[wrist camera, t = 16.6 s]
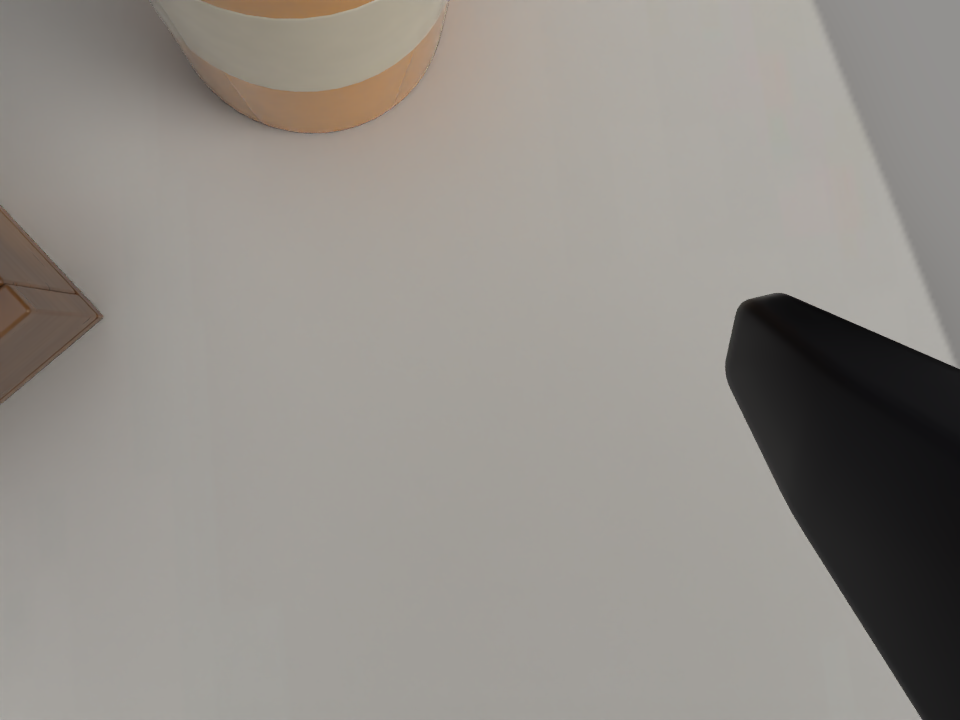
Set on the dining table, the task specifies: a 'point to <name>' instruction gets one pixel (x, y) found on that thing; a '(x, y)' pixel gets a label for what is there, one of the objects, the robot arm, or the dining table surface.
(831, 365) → the robot arm
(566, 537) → the dining table surface
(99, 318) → the wooden box
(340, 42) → the jar
